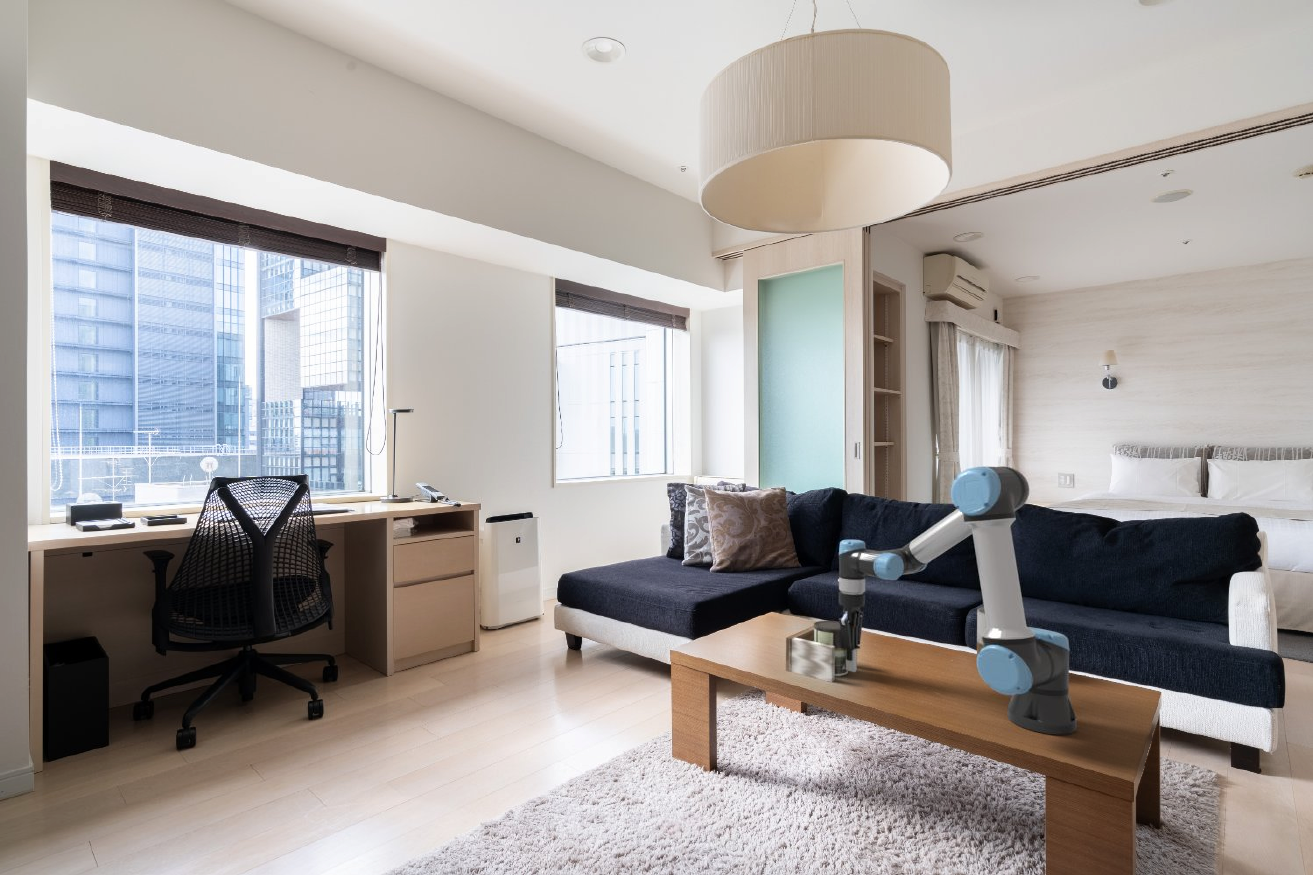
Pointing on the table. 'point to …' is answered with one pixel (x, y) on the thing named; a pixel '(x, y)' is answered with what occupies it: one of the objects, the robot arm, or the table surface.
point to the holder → (810, 656)
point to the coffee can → (832, 642)
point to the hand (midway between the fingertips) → (851, 670)
